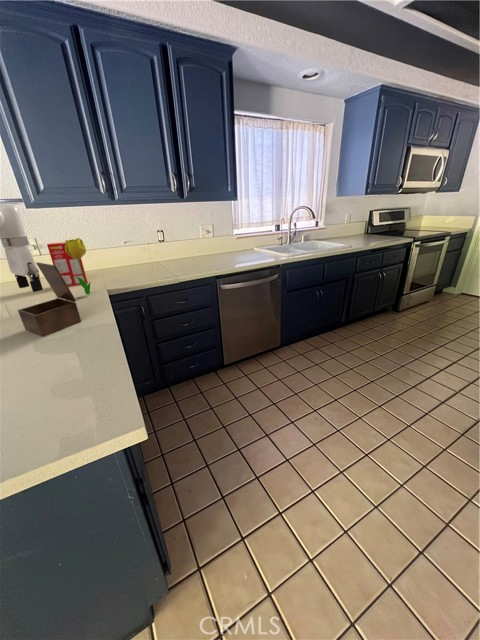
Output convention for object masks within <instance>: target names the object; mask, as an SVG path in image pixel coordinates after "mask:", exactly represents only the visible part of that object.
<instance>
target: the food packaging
mask: <svg viewBox="0 0 480 640" xmlns="http://www.w3.org/2000/svg"><path fill="white" fill-rule="evenodd" d="M46 246H47V249H48V252H49V255H50V259H51V262H52V265H56V267H57V269H58V271H59V272H60V274H61V276H62V277H63V279H64V281H65V283H66V284H67V286H68V287H73V286H81V284H80V282H79V279H78V278H76V277H79V278H81V279H82V280H83V281H84V280H85V282H86V284H87V285H88V284H89V282H88V279H87V276H86V272H85V268H84V263H83V259H82V258H81V259H79V261H80V265H81V268H80V265H79V262H78V259H74V258H72V257H71V256H69V255H68V254H67V253H66V251H65V241H64V242H52V243H47V244H46ZM81 269H82V272H83V275H82V272H81ZM83 276H84V278H83Z"/></svg>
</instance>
